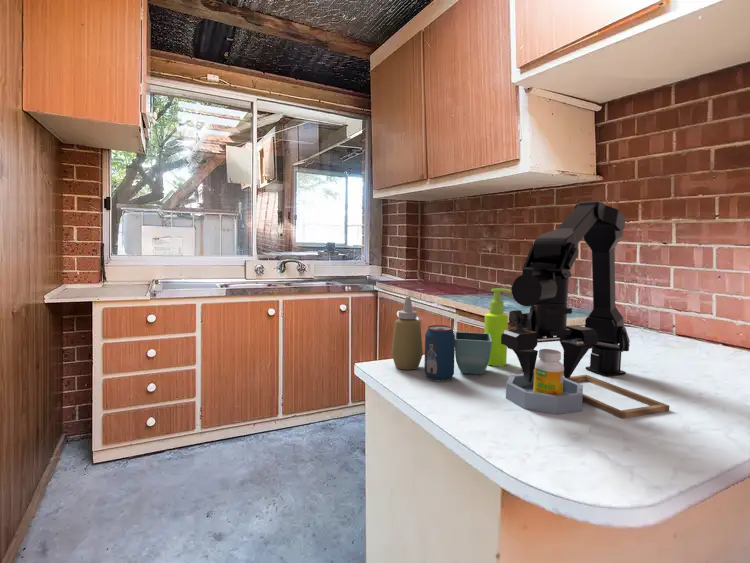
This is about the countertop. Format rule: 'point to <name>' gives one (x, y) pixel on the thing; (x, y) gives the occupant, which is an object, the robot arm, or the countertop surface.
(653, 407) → the wooden frame
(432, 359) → the soda can
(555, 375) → the supplement bottle
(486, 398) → the countertop surface
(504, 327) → the soap dispenser
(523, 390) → the bowl
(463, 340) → the flower pot
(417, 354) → the squeeze bottle
